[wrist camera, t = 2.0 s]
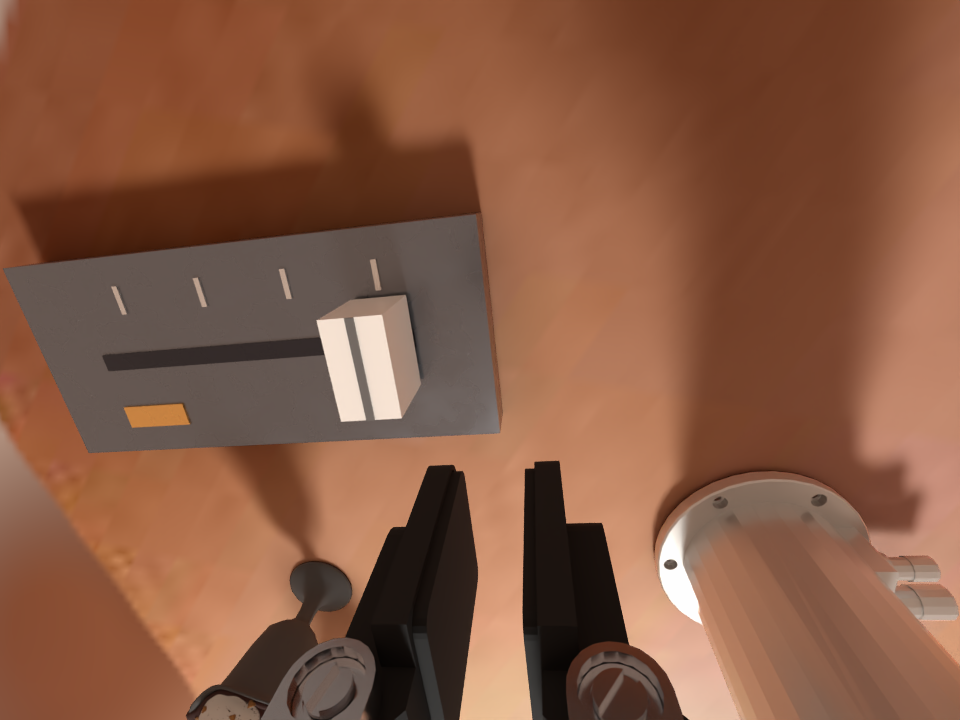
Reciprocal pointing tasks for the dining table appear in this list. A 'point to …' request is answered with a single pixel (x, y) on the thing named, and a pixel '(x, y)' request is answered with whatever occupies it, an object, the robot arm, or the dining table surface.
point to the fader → (371, 358)
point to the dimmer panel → (261, 335)
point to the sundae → (274, 649)
